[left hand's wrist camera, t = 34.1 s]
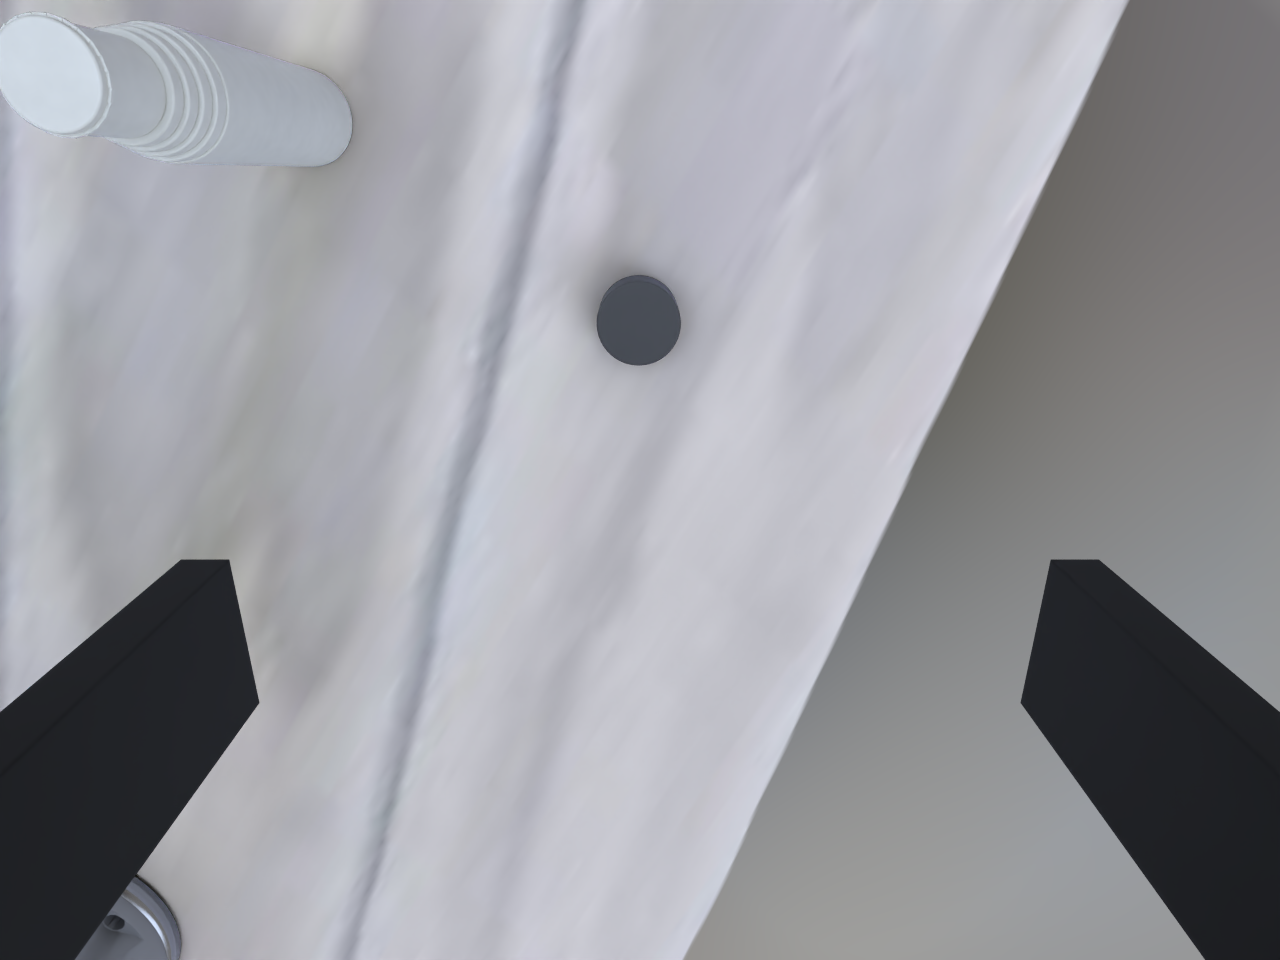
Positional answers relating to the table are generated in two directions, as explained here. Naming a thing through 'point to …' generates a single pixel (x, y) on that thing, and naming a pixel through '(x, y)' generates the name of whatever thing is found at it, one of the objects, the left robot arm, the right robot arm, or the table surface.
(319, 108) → the bottle
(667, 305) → the cap
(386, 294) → the table surface
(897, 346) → the table surface
